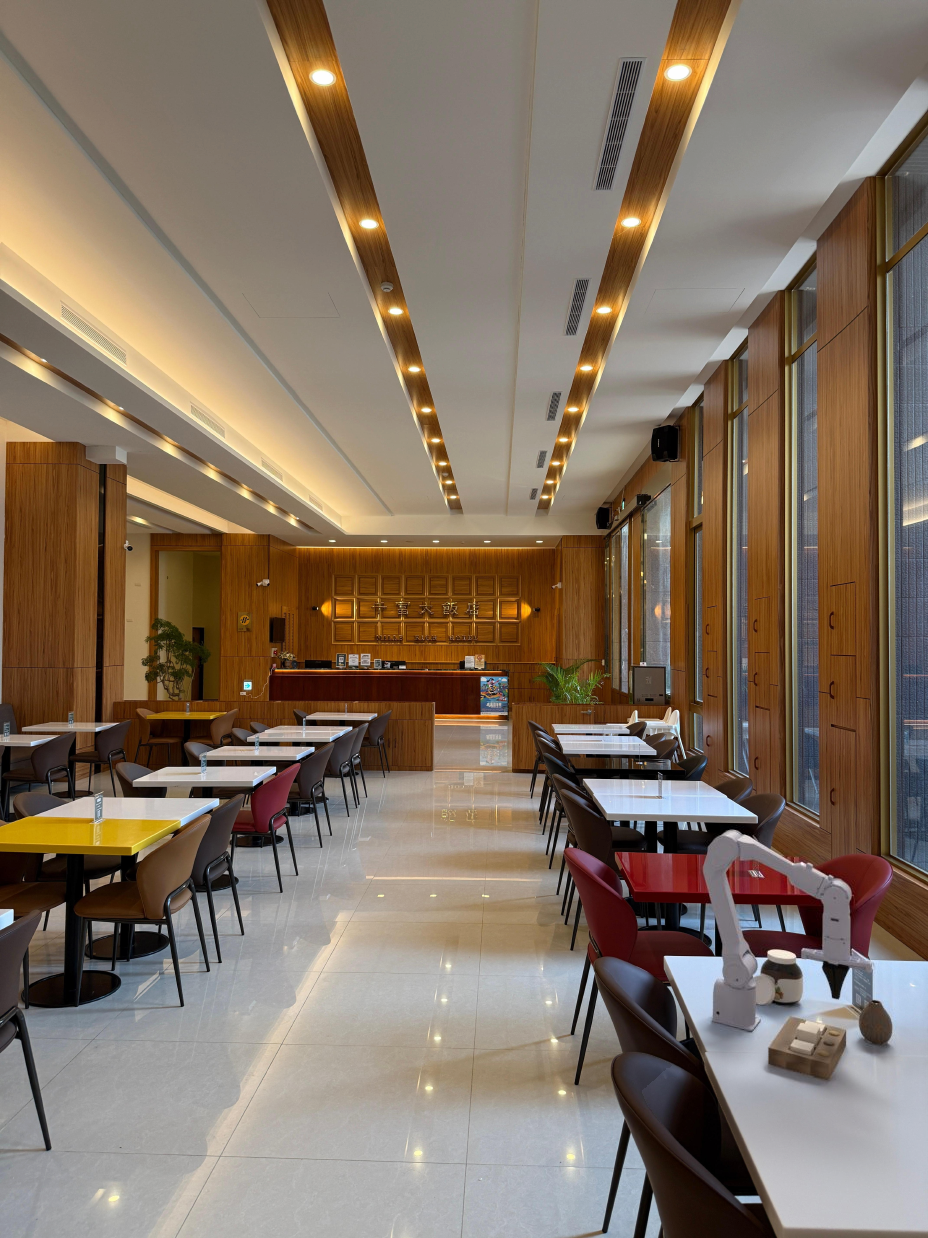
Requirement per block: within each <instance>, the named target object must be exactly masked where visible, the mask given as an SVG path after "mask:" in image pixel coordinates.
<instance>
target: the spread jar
mask: <svg viewBox="0 0 928 1238" xmlns="http://www.w3.org/2000/svg"><path fill="white" fill-rule="evenodd" d="M759 971H760V973H759V974H758V975H755V976H753V978H754V980H755V982H756V1005H759V1006H768V1005H771V1004H773V1005H776V1006H781V1007H792V1006H795V1005H797V1004H798V1003H800V1001H801V999H802V997H803V994H804V974H803V971H802V969H801V966H799V964H798V963H797V956H796V954H795V953H793V952H791V951H788V950H782V949H770V950H768V951H767V959H766V960H764V962H763V963H762V965H761V967H760V970H759Z"/></svg>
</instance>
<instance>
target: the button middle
mask: <svg viewBox="0 0 928 1238" xmlns="http://www.w3.org/2000/svg"><path fill="white" fill-rule="evenodd" d="M797 1040H800V1041H804V1042H807V1043H811V1044H814V1045H818V1044H819V1042H820V1027H817V1026H813V1025H808V1024H804V1023H800V1025H799V1026H798V1028H797Z"/></svg>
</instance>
